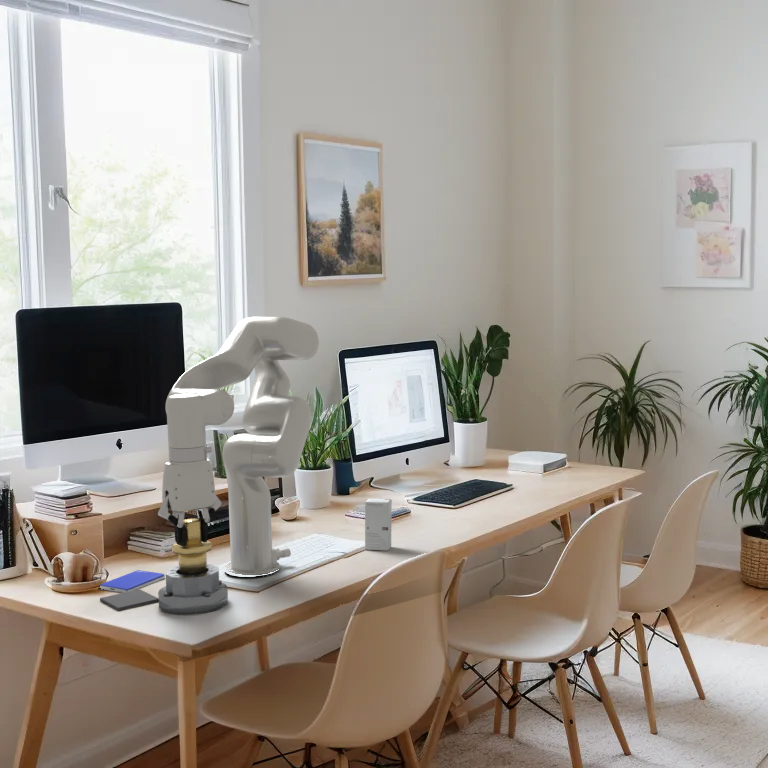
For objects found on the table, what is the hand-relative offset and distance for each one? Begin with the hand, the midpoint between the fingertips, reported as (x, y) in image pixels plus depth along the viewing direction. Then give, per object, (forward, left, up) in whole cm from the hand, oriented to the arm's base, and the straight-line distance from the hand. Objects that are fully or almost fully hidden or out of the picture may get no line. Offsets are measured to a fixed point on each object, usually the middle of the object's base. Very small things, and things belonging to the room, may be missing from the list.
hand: (191, 542), depth 207 cm
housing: (0, 0, -13) cm, 13 cm away
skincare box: (-56, -9, -13) cm, 58 cm away
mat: (+9, -11, -13) cm, 19 cm away
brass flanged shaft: (0, 0, -6) cm, 6 cm away
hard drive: (+3, -23, -14) cm, 27 cm away
